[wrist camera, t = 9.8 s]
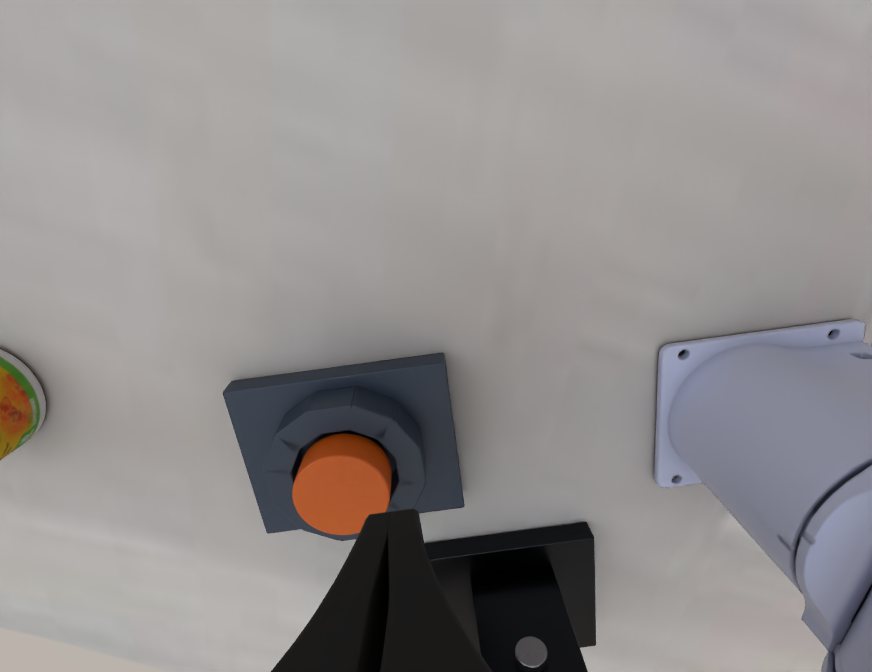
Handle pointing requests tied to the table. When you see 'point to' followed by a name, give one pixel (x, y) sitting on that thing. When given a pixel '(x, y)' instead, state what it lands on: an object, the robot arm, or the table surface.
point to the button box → (349, 431)
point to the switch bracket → (523, 595)
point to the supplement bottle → (18, 404)
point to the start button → (342, 483)
